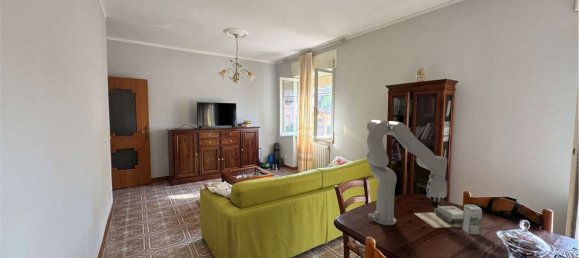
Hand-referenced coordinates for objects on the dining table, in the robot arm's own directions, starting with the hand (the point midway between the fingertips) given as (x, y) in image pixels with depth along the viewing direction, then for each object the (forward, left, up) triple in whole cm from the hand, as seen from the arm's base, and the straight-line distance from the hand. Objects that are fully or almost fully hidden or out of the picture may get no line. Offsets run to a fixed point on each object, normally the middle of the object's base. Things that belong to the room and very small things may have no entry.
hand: (434, 207), depth 142 cm
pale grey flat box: (+11, 0, -8) cm, 14 cm away
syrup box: (+10, -15, -8) cm, 20 cm away
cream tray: (+6, 0, -8) cm, 10 cm away
